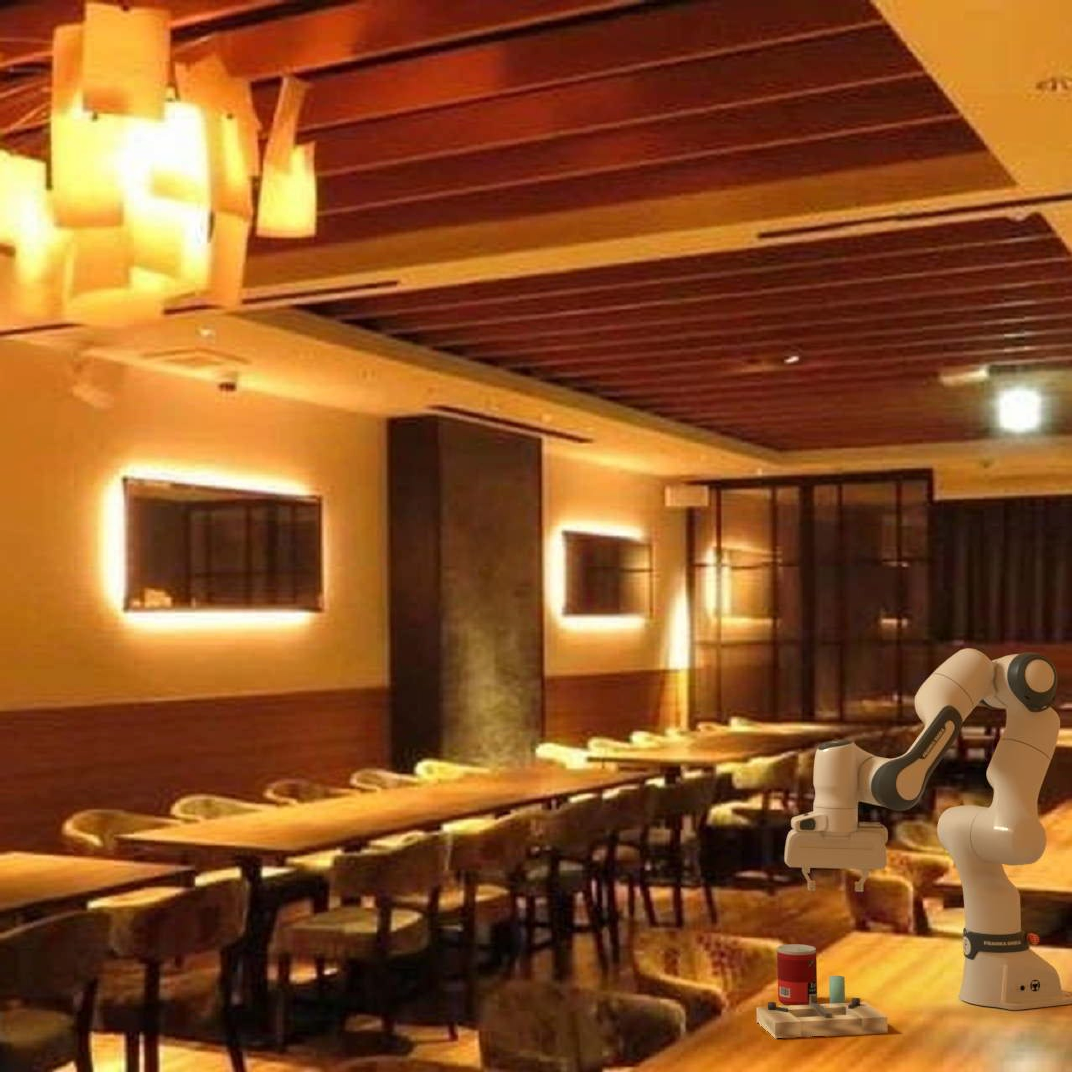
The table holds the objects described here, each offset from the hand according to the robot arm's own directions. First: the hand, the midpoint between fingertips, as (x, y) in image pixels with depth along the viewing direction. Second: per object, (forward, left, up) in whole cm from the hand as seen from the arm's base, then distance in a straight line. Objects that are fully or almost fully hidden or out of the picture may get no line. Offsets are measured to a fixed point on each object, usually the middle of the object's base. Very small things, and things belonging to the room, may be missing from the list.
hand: (835, 890), depth 313 cm
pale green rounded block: (0, +1, -24) cm, 24 cm away
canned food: (+5, -9, -24) cm, 26 cm away
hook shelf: (+7, +12, -24) cm, 27 cm away
